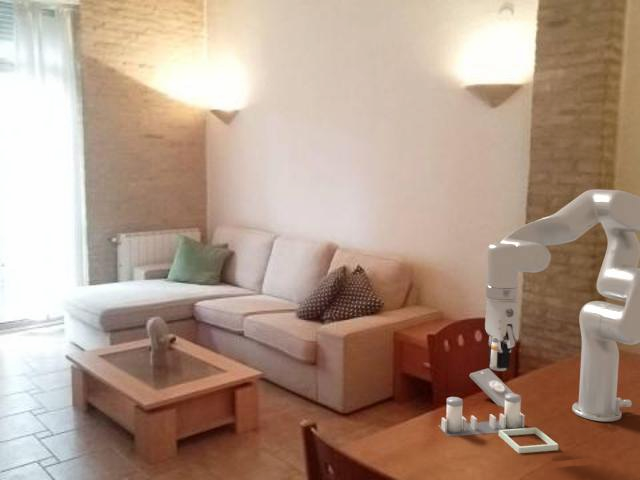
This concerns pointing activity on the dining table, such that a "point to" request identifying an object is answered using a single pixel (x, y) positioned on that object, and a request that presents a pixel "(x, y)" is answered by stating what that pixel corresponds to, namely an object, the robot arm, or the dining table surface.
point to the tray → (525, 449)
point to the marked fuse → (495, 354)
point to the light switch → (491, 385)
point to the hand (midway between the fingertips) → (499, 363)
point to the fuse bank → (460, 427)
